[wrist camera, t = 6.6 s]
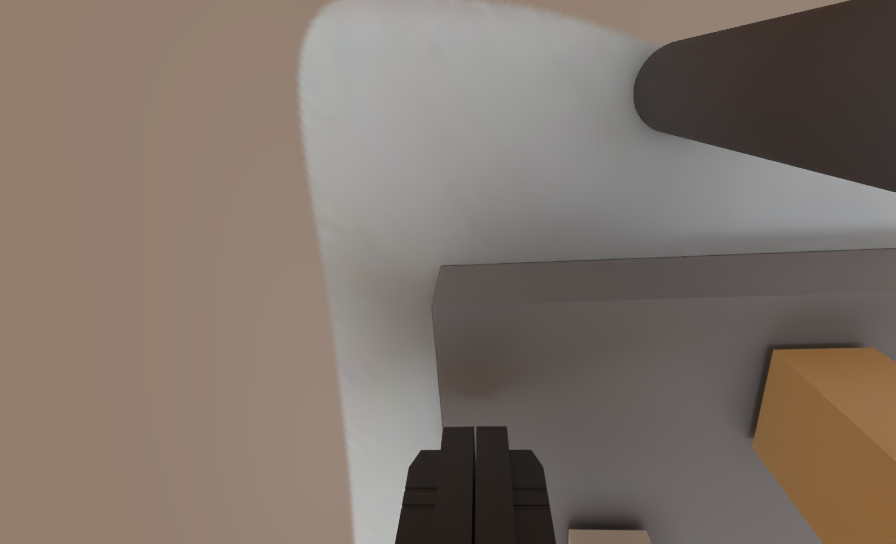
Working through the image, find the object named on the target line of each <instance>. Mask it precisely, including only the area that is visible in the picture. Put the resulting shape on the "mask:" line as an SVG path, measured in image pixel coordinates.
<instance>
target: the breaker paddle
mask: <svg viewBox="0 0 896 544" xmlns="http://www.w3.org/2000/svg"><path fill="white" fill-rule="evenodd" d="M752 448H753V449H754V451H755V452H756V454H757V455H758V456H759V458H760V459H761V460H762V462H763V463H764V464H765V466H766V467H767V468H768V470H769V471H770V472H771V474H772V475H773V476H774V478H775V479H776V480H777V482H778V483H779V485H780V486H781V487H782V489H783V490H784V491H785V493H786V494H787V495H788V497H789V498H790V499H791V501H792V502H793V503H794V505H795V506H796V507H797V509H798V510H799V512H800V513H801V514H802V516H803V517H804V518H805V520H806V521H807V522H808V524H809V525H810V526H811V528H812V529H813V530H814V532H815V533H816V534H817V536H818V537H819V538H820V540H821V541H822V543H823V544H896V362H895V361H893V360H892V359H890V358H889V357H887V356H886V355H884V354H883V353H881V352H880V351H878V350H877V349H875V348H828V349H779V350H773V353H772V358H771V362H770V367H769V372H768V376H767V381H766V386H765V390H764V395H763V399H762V404H761V409H760V413H759V418H758V422H757V427H756V432H755V436H754V441H753V445H752Z"/></svg>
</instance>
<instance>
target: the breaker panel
mask: <svg viewBox="0 0 896 544" xmlns="http://www.w3.org/2000/svg"><path fill="white" fill-rule="evenodd" d="M431 307H432V317H433V328H434V339H435V350H436V361H437V372H438V383H439V394H440V405H441V416H442V427H474V433H475V452H476V427H477V426H507V431H508V443H509V450H532V451H533V453H534V454H535V456H536V457H537V459H538V460H539V461H540V463H541V464H542V466H543V468H544V474H545V480H546V485H547V492H548V497H549V503H550V509H551V515H552V521H553V527H554V533H555V539H556V544H568V538H569V529H576V530H647V533H648V536H649V539H650V541H651V544H823V543H822V541H821V540H820V538H819V537H818V536H817V534H816V533H815V532H814V530H813V529H812V528H811V526H810V525H809V524H808V522H807V521H806V520H805V518H804V517H803V516H802V514H801V513H800V512H799V510H798V509H797V507H796V506H795V505H794V503H793V502H792V501H791V499H790V498H789V497H788V495H787V494H786V493H785V491H784V490H783V489H782V487H781V486H780V485H779V483H778V482H777V480H776V479H775V478H774V476H773V475H772V474H771V472H770V471H769V470H768V468H767V467H766V466H765V464H764V463H763V462H762V460H761V459H760V458H759V456H758V455H757V454H756V452H755V451H754V449H753V448H752V445H753V441H754V436H755V432H756V427H757V422H758V418H759V413H760V409H761V404H762V399H763V395H764V390H765V386H766V381H767V376H768V372H769V367H770V362H771V358H772V353H773V350H779V349H828V348H875V349H877V350H878V351H880V352H881V353H883V354H884V355H886V356H887V357H889V358H890V359H892V360H893V361H895V362H896V249H871V250H845V251H820V252H794V253H768V254H743V255H717V256H692V257H666V258H640V259H615V260H589V261H563V262H538V263H512V264H486V265H461V266H441V268H440V273H439V277H438V281H437V285H436V289H435V293H434V298H433V302H432V306H431Z"/></svg>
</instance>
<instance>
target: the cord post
mask: <svg viewBox="0 0 896 544" xmlns="http://www.w3.org/2000/svg"><path fill="white" fill-rule="evenodd" d="M634 102H635V107H636V110H637V112H638V114H639V116H640V117H641V119H642V120H643V121H644V122H645V123H646V124H647V125H648V126H649V127H651V128H653V129H655V130H657V131H660V132H663V133H667V134H671V135H675V136H679V137H683V138H687V139H691V140H695V141H698V142H702V143H706V144H710V145H714V146H718V147H722V148H726V149H729V150H733V151H737V152H741V153H745V154H749V155H753V156H757V157H760V158H764V159H768V160H772V161H776V162H780V163H784V164H788V165H791V166H795V167H799V168H803V169H807V170H811V171H815V172H819V173H823V174H826V175H830V176H834V177H838V178H842V179H846V180H850V181H854V182H857V183H861V184H865V185H869V186H873V187H877V188H881V189H885V190H888V191H892V192H896V0H850V1H845V2H841V3H837V4H833V5H829V6H824V7H820V8H816V9H811V10H807V11H803V12H799V13H794V14H790V15H786V16H782V17H777V18H773V19H769V20H764V21H760V22H756V23H752V24H747V25H743V26H739V27H735V28H731V29H726V30H722V31H718V32H713V33H709V34H705V35H701V36H696V37H692V38H688V39H684V40H679V41H676V42H672V43H670V44H667V45H665V46H663V47H662V48H660V49H658V50H657V51H656V52H654V53H653V54H652V55H651V56H650V57H649V58H648V60H647V61H646V62H645V63H644V65H643V66H642V68H641V70H640V72H639V74H638V76H637V79H636V82H635V87H634Z"/></svg>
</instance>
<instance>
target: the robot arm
mask: <svg viewBox="0 0 896 544" xmlns="http://www.w3.org/2000/svg"><path fill="white" fill-rule="evenodd" d="M395 544H556V539H555V533H554V527H553V521H552V515H551V509H550V503H549V497H548V492H547V485H546V480H545V474H544V468H543V466H542V464H541V463H540V461H539V460H538V459H537V457H536V456H535V454H534V453H533V451H532V450H509V443H508V431H507V426H477V427H476V452H475V433H474V427H443V433H442V442H441V450H421V451H420V452H419V454H418V455H417V457H416V458H415V460H414V461H413V462H412V464H411V465H410V467H409V470H408V476H407V481H406V486H405V492H404V497H403V503H402V509H401V514H400V519H399V525H398V530H397V536H396V541H395Z"/></svg>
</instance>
